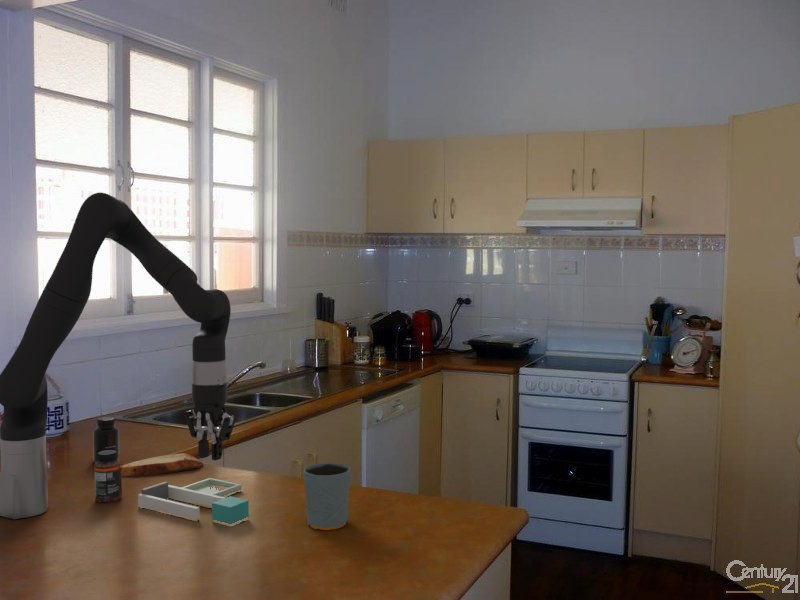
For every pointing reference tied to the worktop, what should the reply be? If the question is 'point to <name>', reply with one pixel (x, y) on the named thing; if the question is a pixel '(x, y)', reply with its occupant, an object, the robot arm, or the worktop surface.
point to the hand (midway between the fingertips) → (210, 458)
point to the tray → (204, 487)
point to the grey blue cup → (327, 494)
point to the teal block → (230, 509)
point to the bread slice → (161, 465)
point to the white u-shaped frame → (159, 493)
